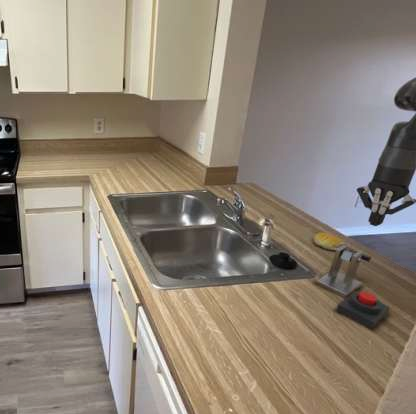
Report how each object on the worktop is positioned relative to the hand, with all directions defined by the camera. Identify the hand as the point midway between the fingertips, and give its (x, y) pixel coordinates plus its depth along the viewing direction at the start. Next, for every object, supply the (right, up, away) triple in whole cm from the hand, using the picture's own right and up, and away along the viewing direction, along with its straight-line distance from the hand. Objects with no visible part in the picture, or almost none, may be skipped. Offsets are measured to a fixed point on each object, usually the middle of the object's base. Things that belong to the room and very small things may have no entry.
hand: (374, 224), depth 91 cm
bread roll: (+7, -9, +29) cm, 31 cm away
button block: (-6, -23, -4) cm, 24 cm away
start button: (-6, -20, -5) cm, 21 cm away
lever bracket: (-5, -18, +7) cm, 20 cm away
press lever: (-1, -11, +6) cm, 12 cm away
